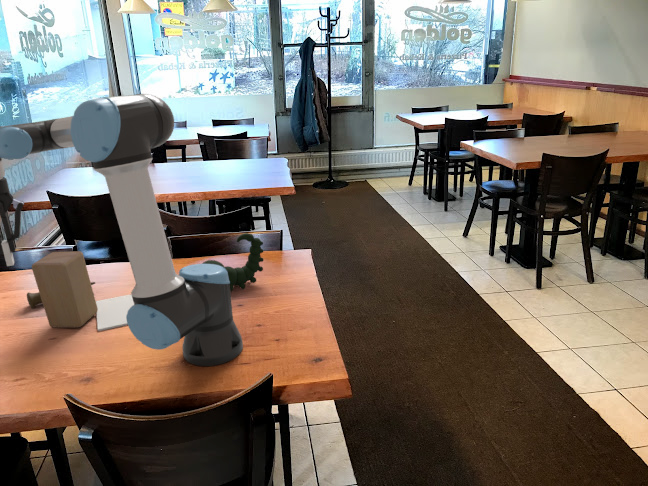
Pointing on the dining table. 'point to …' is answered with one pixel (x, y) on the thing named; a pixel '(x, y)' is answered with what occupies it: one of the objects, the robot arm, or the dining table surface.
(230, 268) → the toy figurine
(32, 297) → the kendama
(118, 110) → the robot arm
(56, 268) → the wooden block
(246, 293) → the dining table surface
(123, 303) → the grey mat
